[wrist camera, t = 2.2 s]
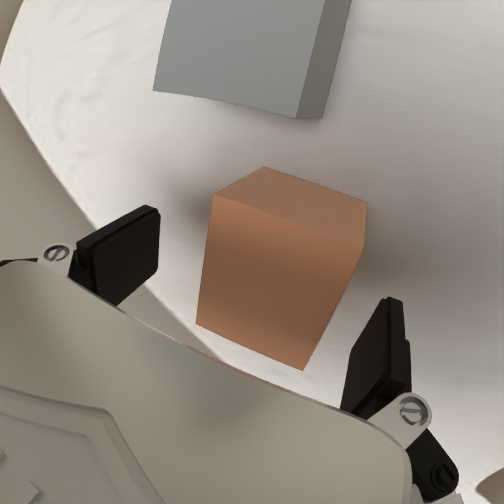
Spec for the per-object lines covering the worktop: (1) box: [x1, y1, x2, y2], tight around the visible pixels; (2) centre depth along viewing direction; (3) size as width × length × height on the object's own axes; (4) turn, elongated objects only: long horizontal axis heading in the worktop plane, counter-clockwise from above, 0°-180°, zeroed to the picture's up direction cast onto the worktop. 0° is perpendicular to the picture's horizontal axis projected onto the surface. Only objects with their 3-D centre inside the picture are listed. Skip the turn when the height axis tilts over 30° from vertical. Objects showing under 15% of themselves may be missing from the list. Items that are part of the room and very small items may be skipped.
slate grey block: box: [153, 0, 351, 119], centre depth 9 cm, size 5×6×5 cm
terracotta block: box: [196, 167, 367, 371], centre depth 13 cm, size 5×6×5 cm
